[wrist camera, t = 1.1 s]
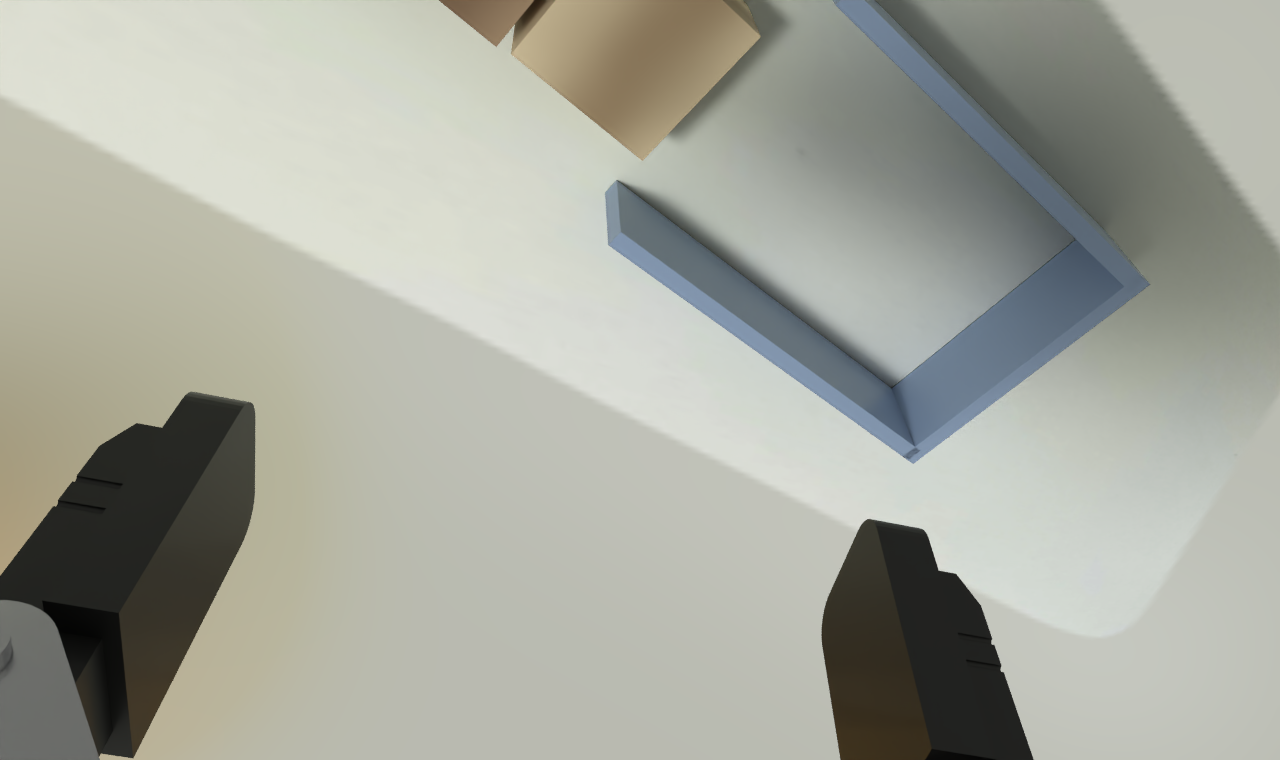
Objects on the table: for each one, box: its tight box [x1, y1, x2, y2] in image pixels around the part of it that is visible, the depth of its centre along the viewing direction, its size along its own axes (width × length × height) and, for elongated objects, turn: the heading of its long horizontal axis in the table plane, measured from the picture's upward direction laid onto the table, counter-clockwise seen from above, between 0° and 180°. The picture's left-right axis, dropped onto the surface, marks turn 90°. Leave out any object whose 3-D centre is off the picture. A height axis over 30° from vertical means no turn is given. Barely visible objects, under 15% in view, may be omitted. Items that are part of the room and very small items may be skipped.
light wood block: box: [511, 0, 761, 161], centre depth 30 cm, size 5×5×3 cm
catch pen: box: [605, 0, 1150, 463], centre depth 34 cm, size 15×10×4 cm
